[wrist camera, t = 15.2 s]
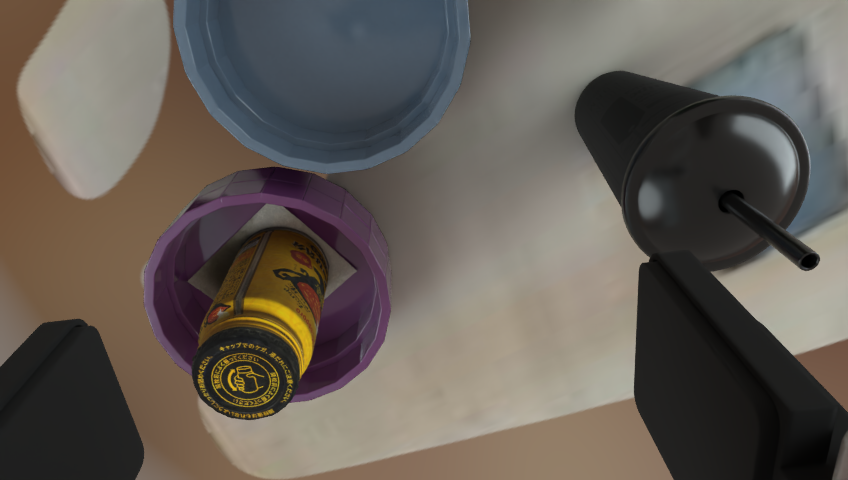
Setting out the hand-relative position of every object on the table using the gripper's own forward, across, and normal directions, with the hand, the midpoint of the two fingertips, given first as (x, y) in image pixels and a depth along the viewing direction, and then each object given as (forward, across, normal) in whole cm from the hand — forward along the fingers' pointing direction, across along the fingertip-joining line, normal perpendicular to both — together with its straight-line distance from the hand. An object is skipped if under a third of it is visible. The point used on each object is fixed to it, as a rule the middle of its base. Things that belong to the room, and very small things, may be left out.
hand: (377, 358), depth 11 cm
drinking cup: (+28, -13, +4) cm, 32 cm away
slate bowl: (+28, +3, -3) cm, 29 cm away
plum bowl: (+28, +9, +12) cm, 32 cm away
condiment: (+28, +10, +12) cm, 32 cm away
